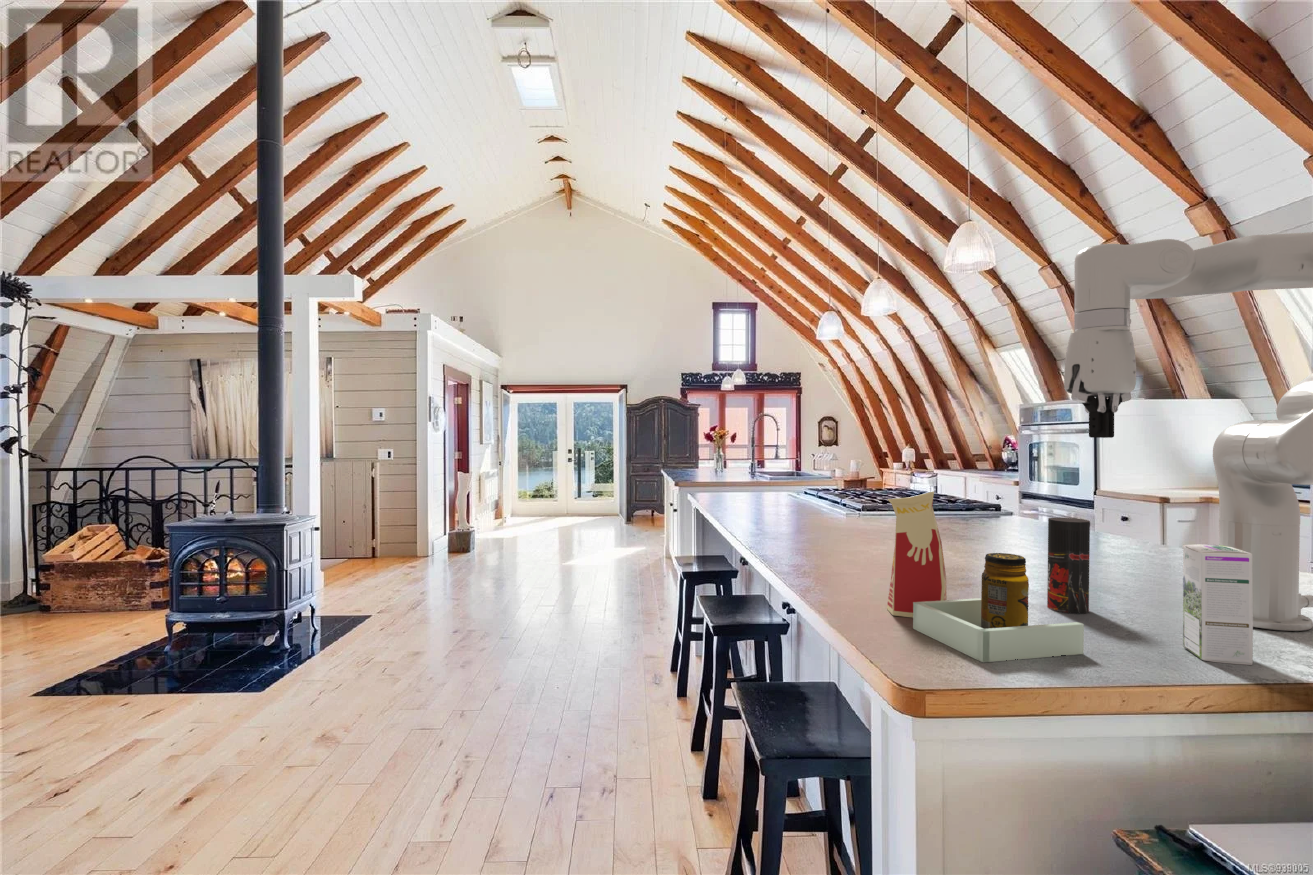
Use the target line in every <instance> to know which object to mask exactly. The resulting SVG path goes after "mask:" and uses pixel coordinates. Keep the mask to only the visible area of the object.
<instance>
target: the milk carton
mask: <svg viewBox="0 0 1313 875" xmlns="http://www.w3.org/2000/svg"><path fill="white" fill-rule="evenodd" d="M934 495H935V490H934V491H933V490H932V491H930V492H925V493H922V494H918V495H914V496H910V497H909V496H908V497H898V498H888V499H886V500H887V501H888V503H890V504H891V506H892V508H893V511H894V514H895V517H896V518H895V519H896V520H895V534H894V535H895V536H894V550H893V559H892V566H891V574H890V582H889V589H888V590H889V591H888V598H887V599H888V600H887V605H886V610H887V611H888V612H889V613H890V614H891V615H892V616H897V617H904V618H913V602H925V601H942V600H948V599H947V597H948V596H947V573H946V572H947V571H946V566H945V565H946V563H945V558H944V550H943V543H942V539H941V534H940V530H939V525H938V523H937V519H936V514H935V512H934V507H933V506H934V505H933V504H934Z"/></svg>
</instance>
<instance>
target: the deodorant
mask: <svg viewBox="0 0 1313 875" xmlns="http://www.w3.org/2000/svg"><path fill="white" fill-rule="evenodd" d="M1047 522H1048V524H1047V528H1048V529H1047V586H1046V587H1047V589H1046V591H1047V597H1046V598H1047V600H1046V601H1047V602H1046V603H1047V605H1046V607H1047V608H1048V609H1049V610H1052V611H1055V612H1059V613H1065V614H1072V615H1073V614H1074V615H1075V614H1077V615H1078V614H1079V615H1084V614H1088V613H1089V611H1090V609H1089V608H1090V554H1091V553H1090V552H1091V550H1090V544H1091V537H1090V536H1091V520H1089V519H1083V518H1075V517H1049V518H1048V519H1047Z"/></svg>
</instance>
